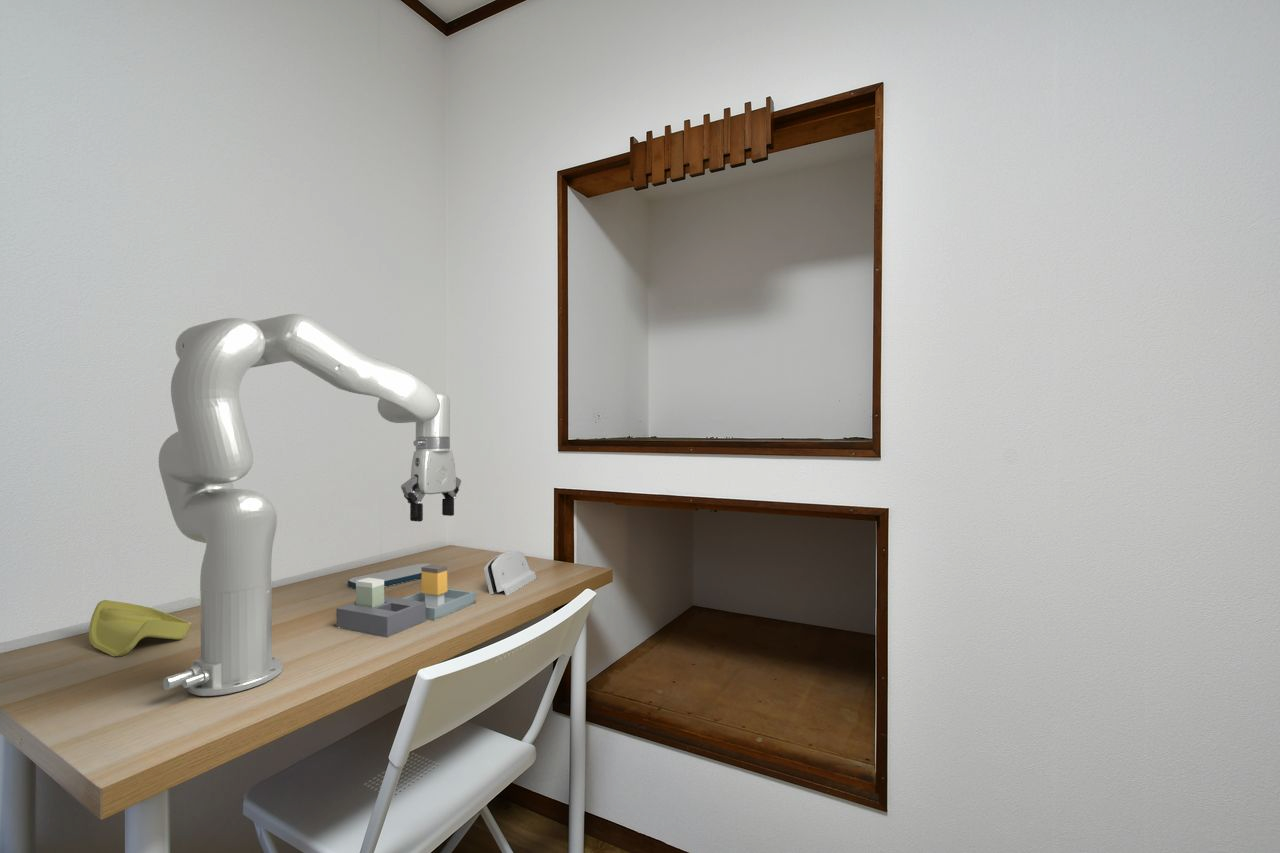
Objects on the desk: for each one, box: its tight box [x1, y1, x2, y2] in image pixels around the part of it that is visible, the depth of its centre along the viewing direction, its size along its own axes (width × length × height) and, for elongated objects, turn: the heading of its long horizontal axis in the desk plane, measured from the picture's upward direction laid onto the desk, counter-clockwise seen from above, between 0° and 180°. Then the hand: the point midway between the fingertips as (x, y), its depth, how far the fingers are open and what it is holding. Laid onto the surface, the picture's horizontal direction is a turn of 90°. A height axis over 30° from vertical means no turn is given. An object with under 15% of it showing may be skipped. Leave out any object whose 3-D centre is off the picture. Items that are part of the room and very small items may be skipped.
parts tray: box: [401, 587, 477, 621], centre depth 125 cm, size 13×13×2 cm
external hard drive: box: [347, 563, 431, 590], centre depth 152 cm, size 24×12×2 cm, turn 141°
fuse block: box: [335, 578, 427, 638], centre depth 115 cm, size 10×15×9 cm, turn 66°
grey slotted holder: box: [483, 550, 537, 596], centre depth 143 cm, size 17×5×10 cm, turn 164°
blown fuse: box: [421, 563, 448, 607], centre depth 125 cm, size 3×5×9 cm, turn 65°
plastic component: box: [88, 599, 193, 657], centre depth 108 cm, size 20×7×10 cm
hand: (432, 518), depth 125 cm, fingers open, 9 cm apart
